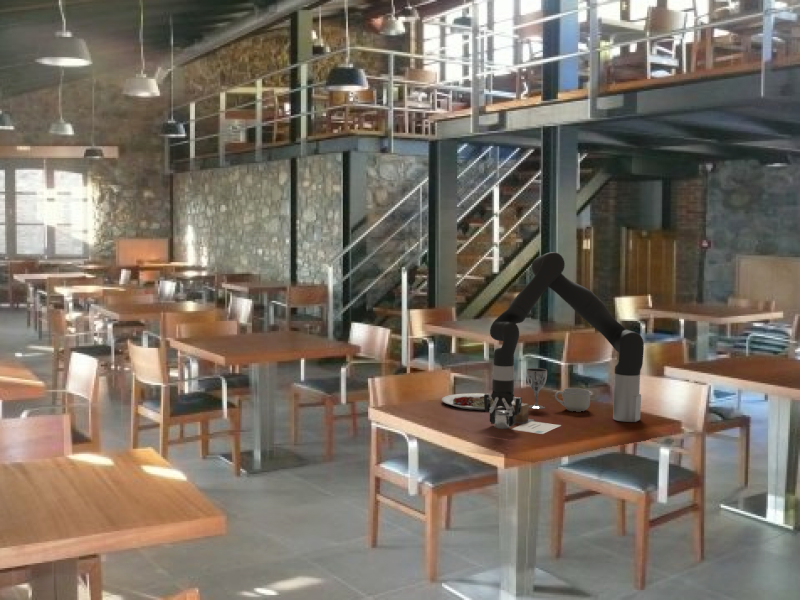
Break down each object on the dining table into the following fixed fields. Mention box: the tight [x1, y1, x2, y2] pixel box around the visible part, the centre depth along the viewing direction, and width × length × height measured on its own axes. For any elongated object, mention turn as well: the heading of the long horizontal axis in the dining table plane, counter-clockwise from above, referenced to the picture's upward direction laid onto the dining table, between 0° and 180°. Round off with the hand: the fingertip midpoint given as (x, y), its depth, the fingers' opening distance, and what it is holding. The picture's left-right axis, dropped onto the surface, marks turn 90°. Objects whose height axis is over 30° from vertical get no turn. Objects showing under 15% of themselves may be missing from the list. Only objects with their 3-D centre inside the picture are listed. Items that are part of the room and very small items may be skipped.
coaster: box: [515, 418, 535, 425], centre depth 332 cm, size 9×9×1 cm
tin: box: [494, 409, 510, 430], centre depth 320 cm, size 5×5×6 cm
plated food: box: [441, 392, 515, 411], centre depth 364 cm, size 30×30×3 cm
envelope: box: [510, 420, 562, 435], centre depth 321 cm, size 12×17×1 cm
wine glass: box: [526, 367, 548, 410], centre depth 359 cm, size 8×8×15 cm
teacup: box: [554, 387, 592, 413], centre depth 355 cm, size 14×11×8 cm
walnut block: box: [513, 402, 530, 422], centre depth 332 cm, size 5×5×6 cm
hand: (502, 424), depth 320 cm, fingers open, 6 cm apart
